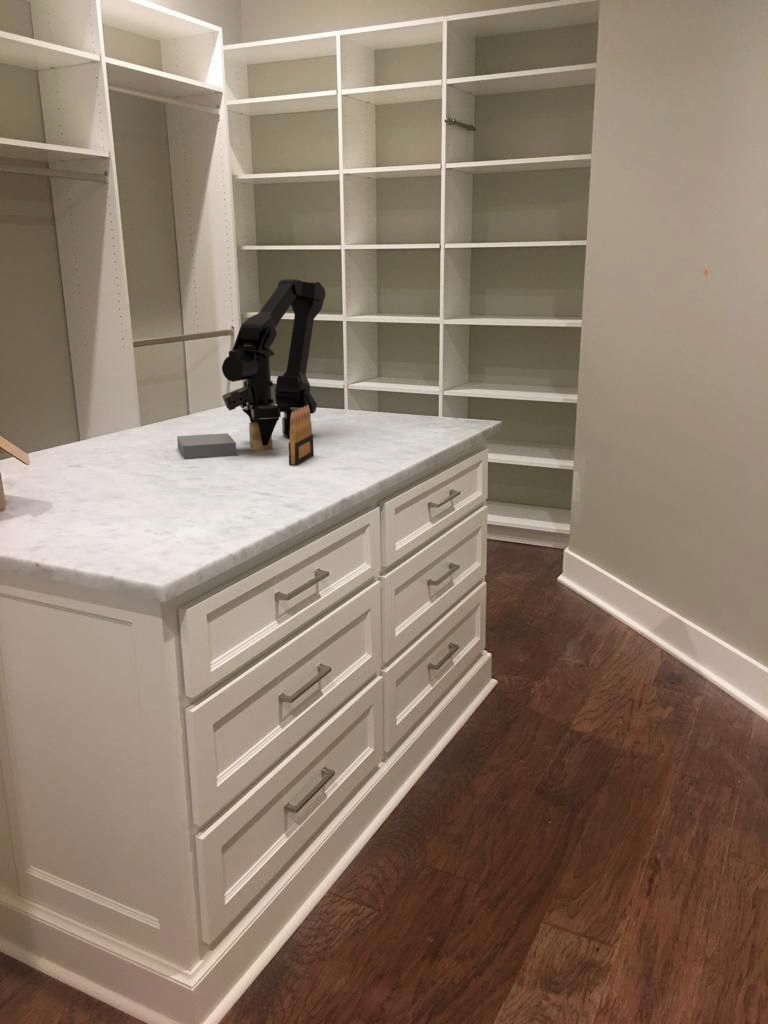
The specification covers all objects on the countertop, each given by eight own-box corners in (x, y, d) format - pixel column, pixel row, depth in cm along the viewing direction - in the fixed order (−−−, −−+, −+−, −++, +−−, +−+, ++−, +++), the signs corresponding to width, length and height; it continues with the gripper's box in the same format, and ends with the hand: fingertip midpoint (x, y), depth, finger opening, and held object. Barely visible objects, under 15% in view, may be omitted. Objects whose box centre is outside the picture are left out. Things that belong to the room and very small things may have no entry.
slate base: (228, 445, 207) (227, 433, 206) (236, 455, 196) (235, 442, 195) (177, 448, 203) (177, 436, 202) (183, 458, 192) (182, 446, 191)
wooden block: (268, 446, 206) (267, 421, 205) (272, 449, 202) (271, 424, 200) (250, 447, 205) (249, 422, 203) (253, 450, 201) (252, 426, 199)
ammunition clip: (296, 466, 186) (295, 411, 182) (288, 465, 186) (287, 411, 183) (313, 455, 196) (312, 404, 192) (306, 455, 196) (305, 403, 193)
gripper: (217, 373, 205) (221, 436, 209) (230, 383, 188) (234, 452, 192) (263, 371, 208) (265, 434, 212) (279, 381, 191) (282, 448, 196)
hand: (260, 441), depth 203 cm, fingers open, 9 cm apart
